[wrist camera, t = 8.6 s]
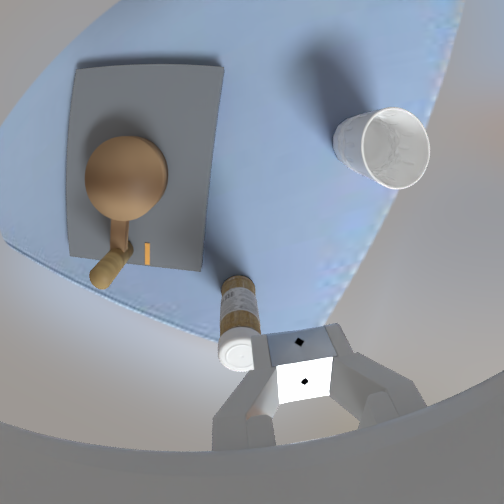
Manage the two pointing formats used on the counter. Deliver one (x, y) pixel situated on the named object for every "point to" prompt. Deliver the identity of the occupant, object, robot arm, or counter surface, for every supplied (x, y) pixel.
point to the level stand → (164, 137)
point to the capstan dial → (123, 194)
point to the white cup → (384, 146)
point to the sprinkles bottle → (238, 323)
